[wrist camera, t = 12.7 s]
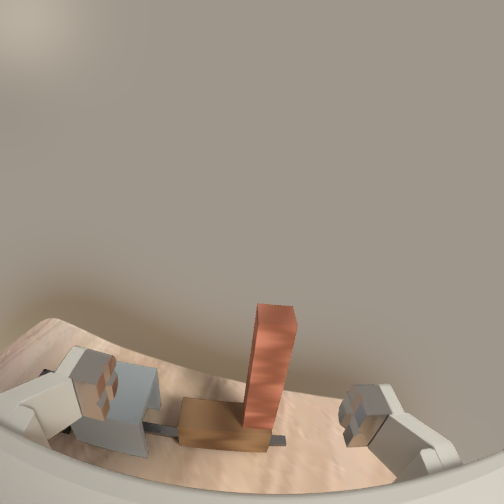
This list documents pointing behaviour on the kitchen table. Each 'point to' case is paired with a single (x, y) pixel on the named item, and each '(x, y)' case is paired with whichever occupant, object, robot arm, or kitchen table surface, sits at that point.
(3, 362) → the kitchen table surface
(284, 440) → the rail
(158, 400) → the tunnel
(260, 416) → the upright post on base
